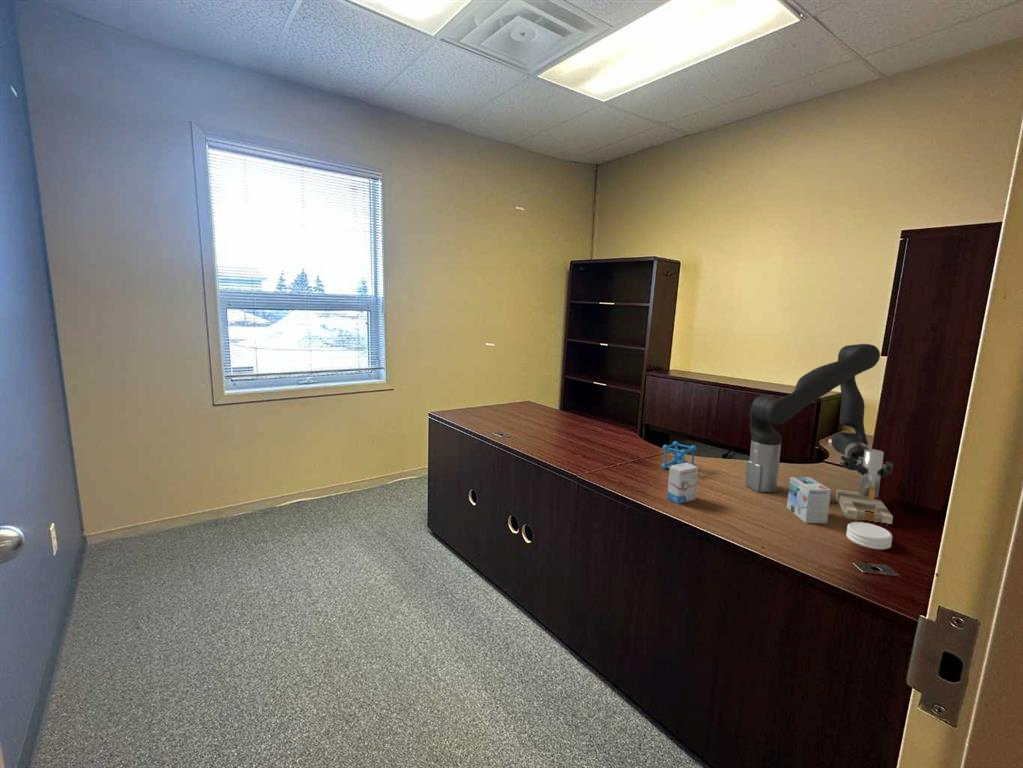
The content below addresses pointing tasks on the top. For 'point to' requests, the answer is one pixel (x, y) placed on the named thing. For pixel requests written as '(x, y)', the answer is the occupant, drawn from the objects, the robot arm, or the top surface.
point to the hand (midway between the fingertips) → (874, 473)
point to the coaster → (869, 535)
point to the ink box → (682, 483)
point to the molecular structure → (677, 456)
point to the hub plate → (862, 507)
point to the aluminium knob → (871, 473)
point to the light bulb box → (808, 499)
